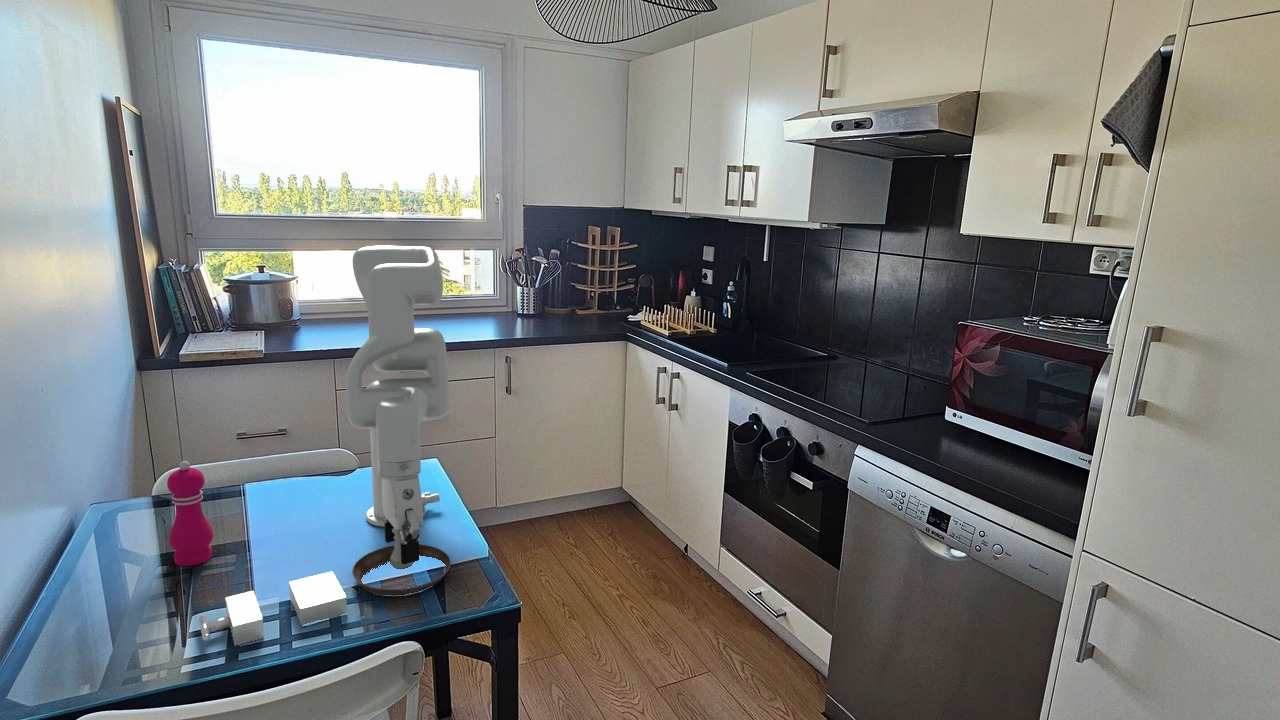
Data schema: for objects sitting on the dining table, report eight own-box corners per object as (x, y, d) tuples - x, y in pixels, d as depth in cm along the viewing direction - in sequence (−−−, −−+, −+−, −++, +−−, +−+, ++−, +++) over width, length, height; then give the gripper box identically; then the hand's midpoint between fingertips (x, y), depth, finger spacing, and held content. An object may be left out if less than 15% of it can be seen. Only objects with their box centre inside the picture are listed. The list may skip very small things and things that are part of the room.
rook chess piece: (393, 558, 140) (391, 519, 138) (417, 557, 140) (415, 519, 138) (387, 570, 135) (385, 530, 133) (412, 569, 136) (410, 530, 134)
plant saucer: (447, 552, 149) (447, 538, 149) (454, 597, 133) (454, 582, 132) (355, 562, 144) (354, 548, 143) (350, 610, 127) (349, 594, 127)
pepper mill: (195, 570, 137) (185, 470, 133) (162, 564, 139) (151, 465, 134) (223, 552, 144) (215, 456, 140) (192, 547, 146) (182, 452, 141)
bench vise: (333, 588, 133) (332, 571, 132) (347, 615, 125) (346, 596, 124) (198, 623, 121) (196, 604, 120) (204, 654, 113) (202, 634, 112)
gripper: (435, 476, 128) (437, 565, 132) (404, 447, 142) (407, 528, 146) (392, 484, 124) (395, 576, 128) (365, 454, 138) (368, 537, 142)
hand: (401, 551), depth 137 cm, fingers open, 9 cm apart
